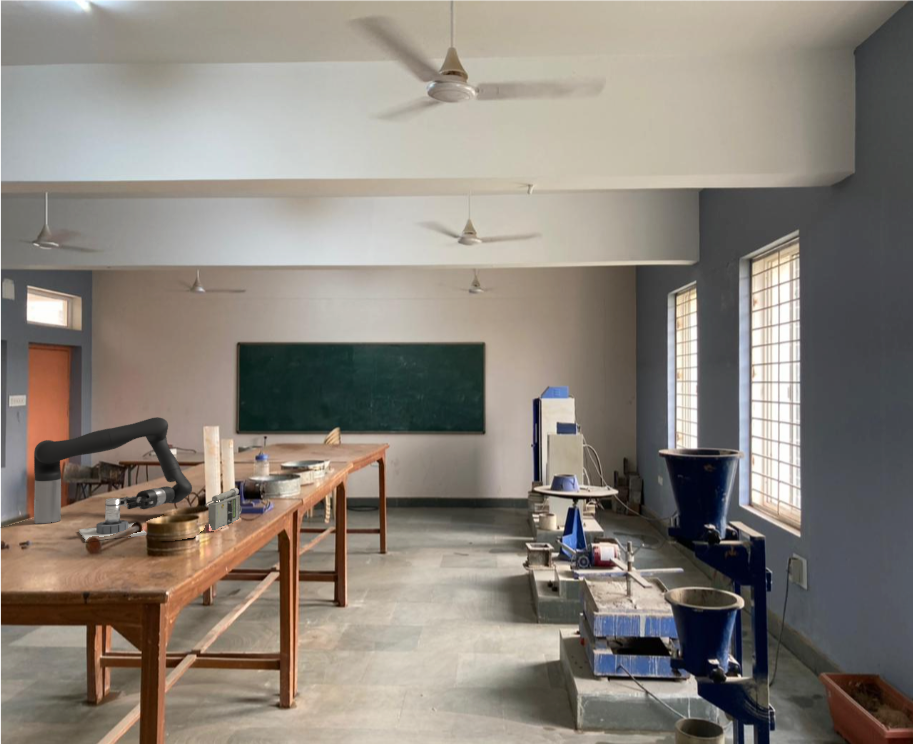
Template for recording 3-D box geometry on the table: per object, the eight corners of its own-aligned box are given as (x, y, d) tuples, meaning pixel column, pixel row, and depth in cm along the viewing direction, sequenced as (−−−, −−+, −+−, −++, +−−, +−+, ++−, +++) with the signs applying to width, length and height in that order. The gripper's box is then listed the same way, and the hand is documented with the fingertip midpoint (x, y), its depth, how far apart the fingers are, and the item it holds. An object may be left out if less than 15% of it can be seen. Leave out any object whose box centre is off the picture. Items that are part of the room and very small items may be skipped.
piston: (106, 532, 251) (106, 501, 251) (103, 530, 255) (104, 498, 255) (121, 531, 254) (121, 499, 254) (118, 528, 259) (119, 497, 258)
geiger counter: (218, 496, 258) (248, 485, 282) (202, 495, 259) (234, 485, 283) (217, 532, 258) (247, 518, 282) (202, 531, 259) (233, 517, 283)
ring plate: (86, 542, 241) (86, 531, 241) (78, 531, 257) (79, 521, 257) (146, 535, 253) (146, 524, 253) (135, 525, 269) (135, 515, 269)
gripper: (137, 488, 276) (105, 494, 260) (165, 490, 271) (133, 497, 256) (137, 506, 276) (105, 514, 260) (165, 508, 271) (133, 516, 256)
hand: (119, 505), depth 258 cm, fingers open, 8 cm apart
